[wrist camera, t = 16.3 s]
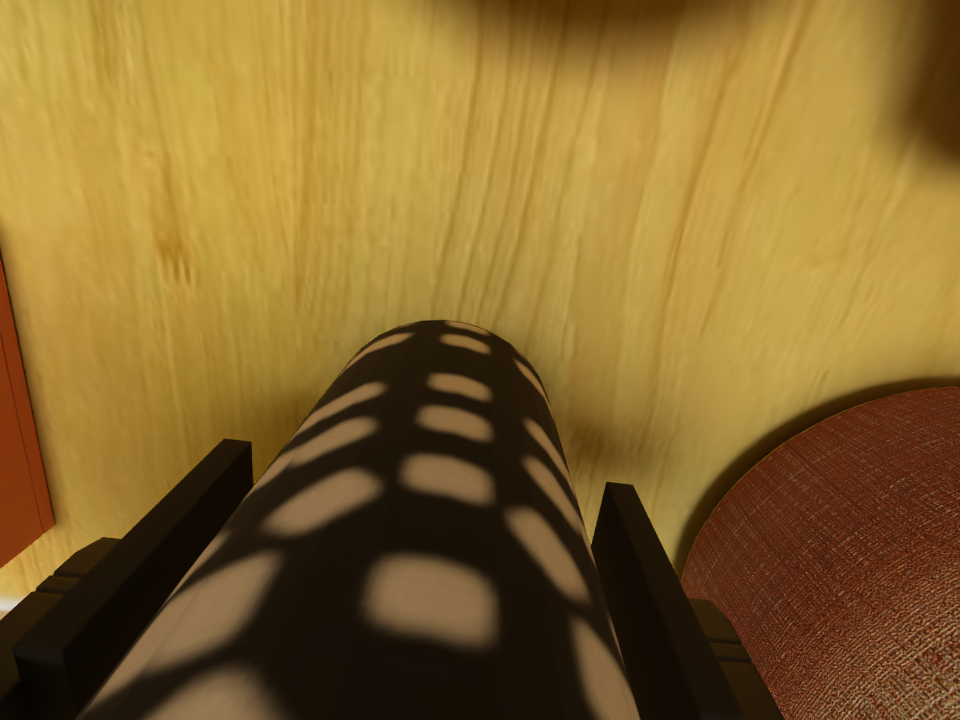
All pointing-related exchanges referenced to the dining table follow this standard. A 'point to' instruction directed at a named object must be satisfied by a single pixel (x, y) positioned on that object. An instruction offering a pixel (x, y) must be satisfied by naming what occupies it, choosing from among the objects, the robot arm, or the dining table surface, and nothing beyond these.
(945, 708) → the planter
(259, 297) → the dining table surface
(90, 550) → the robot arm
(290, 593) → the white-spotted black cylinder
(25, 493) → the bin
